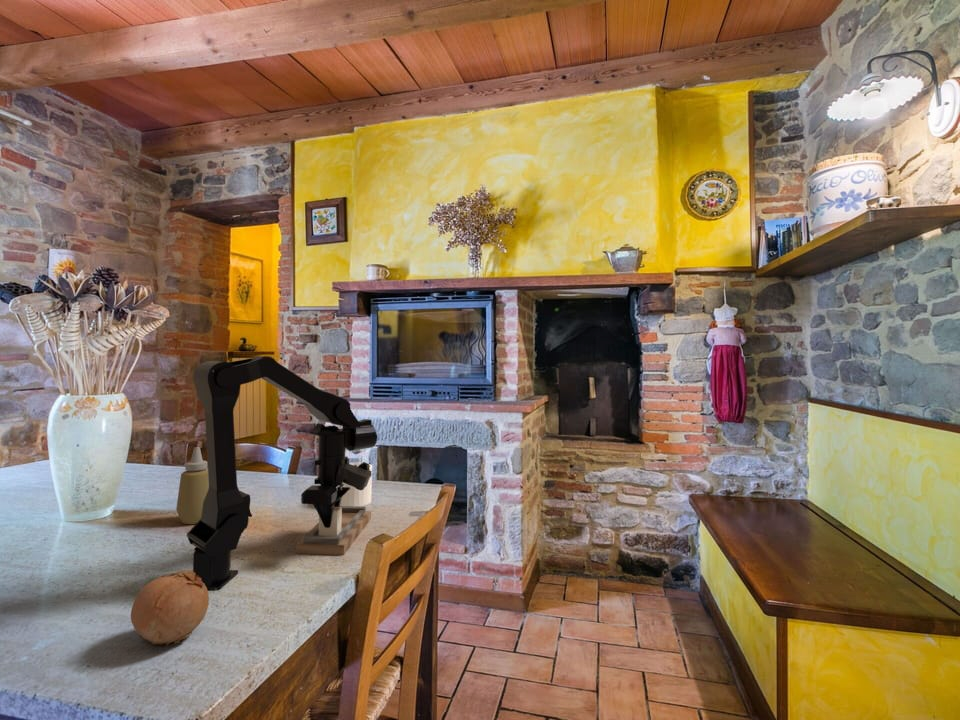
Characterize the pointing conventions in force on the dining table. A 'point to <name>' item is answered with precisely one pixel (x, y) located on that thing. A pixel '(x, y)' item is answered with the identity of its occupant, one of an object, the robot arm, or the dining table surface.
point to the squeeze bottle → (193, 489)
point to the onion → (170, 607)
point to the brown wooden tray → (338, 545)
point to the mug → (358, 493)
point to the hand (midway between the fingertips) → (330, 524)
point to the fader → (332, 524)
